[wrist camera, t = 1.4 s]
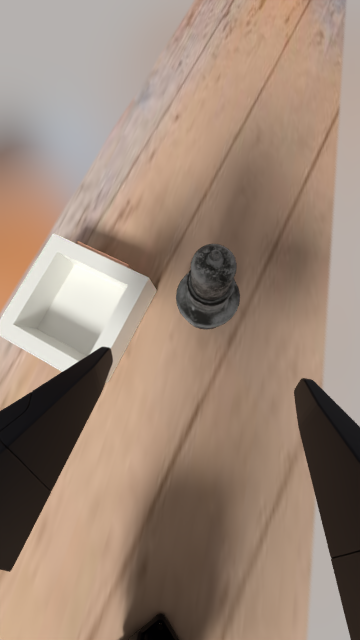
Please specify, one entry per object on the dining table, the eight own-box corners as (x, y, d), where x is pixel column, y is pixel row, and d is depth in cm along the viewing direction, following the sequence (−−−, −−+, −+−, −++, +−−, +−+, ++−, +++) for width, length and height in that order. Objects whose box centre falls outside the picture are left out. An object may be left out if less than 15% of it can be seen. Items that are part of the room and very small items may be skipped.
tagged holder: (158, 287, 23) (151, 274, 20) (108, 381, 22) (89, 387, 18) (77, 249, 25) (55, 229, 21) (26, 335, 24) (-8, 331, 20)
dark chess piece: (223, 273, 23) (251, 189, 11) (240, 323, 22) (290, 287, 10) (173, 288, 23) (149, 220, 12) (187, 338, 22) (177, 320, 11)
